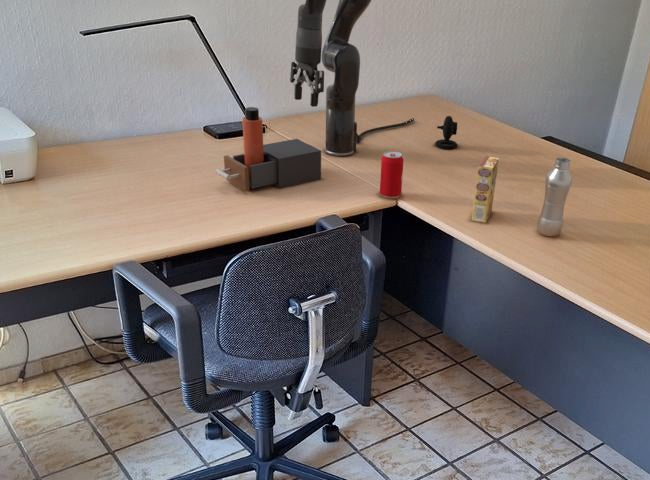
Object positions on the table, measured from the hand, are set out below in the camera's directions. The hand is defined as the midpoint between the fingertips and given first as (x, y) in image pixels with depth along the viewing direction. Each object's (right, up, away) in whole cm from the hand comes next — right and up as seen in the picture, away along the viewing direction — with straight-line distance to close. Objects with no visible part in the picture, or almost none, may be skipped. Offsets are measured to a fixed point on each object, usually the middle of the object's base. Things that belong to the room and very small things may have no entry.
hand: (305, 102), depth 218 cm
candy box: (+51, -39, -19) cm, 67 cm away
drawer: (-15, -27, -12) cm, 33 cm away
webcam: (+45, -4, +29) cm, 54 cm away
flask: (-13, -26, -11) cm, 31 cm away
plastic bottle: (+68, -46, -27) cm, 86 cm away
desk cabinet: (-5, -24, -4) cm, 24 cm away
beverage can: (+26, -31, -11) cm, 42 cm away
